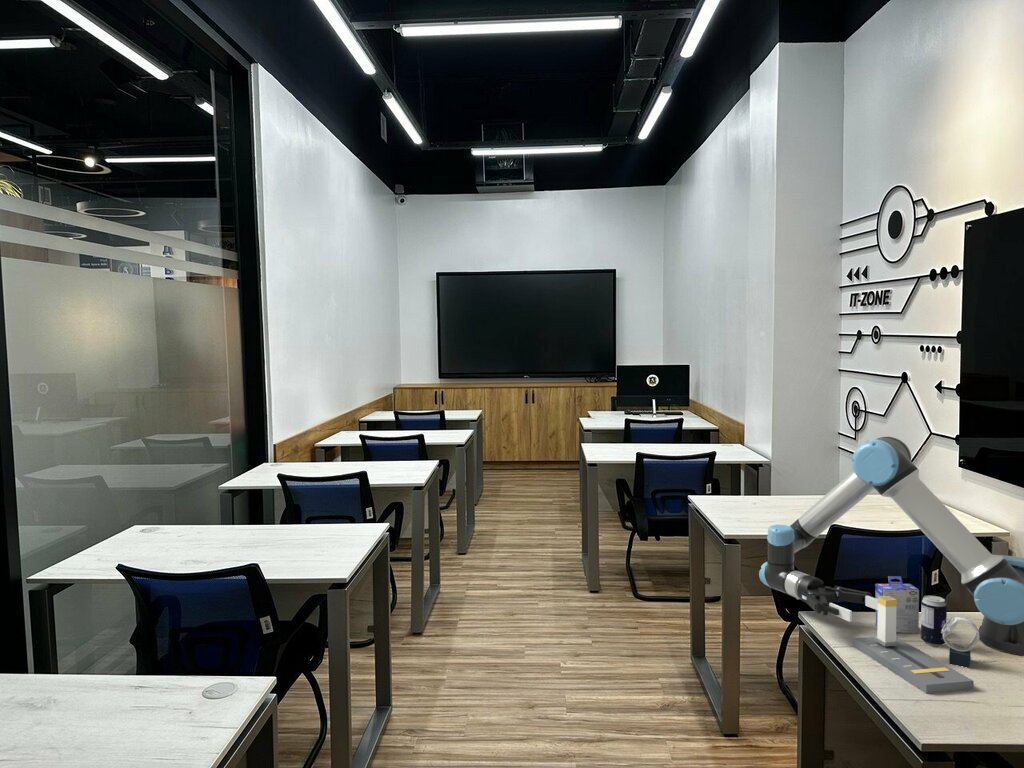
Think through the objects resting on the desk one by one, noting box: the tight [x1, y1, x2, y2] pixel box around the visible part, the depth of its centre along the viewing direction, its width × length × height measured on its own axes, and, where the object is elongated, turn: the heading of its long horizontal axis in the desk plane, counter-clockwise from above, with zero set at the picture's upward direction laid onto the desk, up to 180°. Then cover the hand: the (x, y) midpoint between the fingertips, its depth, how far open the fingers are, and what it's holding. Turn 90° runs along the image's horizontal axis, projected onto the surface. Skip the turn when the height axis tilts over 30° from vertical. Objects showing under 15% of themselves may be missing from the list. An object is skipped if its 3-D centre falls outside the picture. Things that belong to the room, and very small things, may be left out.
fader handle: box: [873, 596, 899, 646], centre depth 177 cm, size 4×4×12 cm
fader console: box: [852, 636, 975, 694], centre depth 169 cm, size 12×26×2 cm, turn 9°
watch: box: [941, 616, 980, 669], centre depth 171 cm, size 6×8×11 cm
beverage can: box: [920, 594, 948, 648], centre depth 182 cm, size 6×6×12 cm
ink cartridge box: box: [874, 575, 920, 634], centre depth 192 cm, size 10×6×14 cm, turn 87°
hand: (869, 612), depth 181 cm, fingers open, 13 cm apart
